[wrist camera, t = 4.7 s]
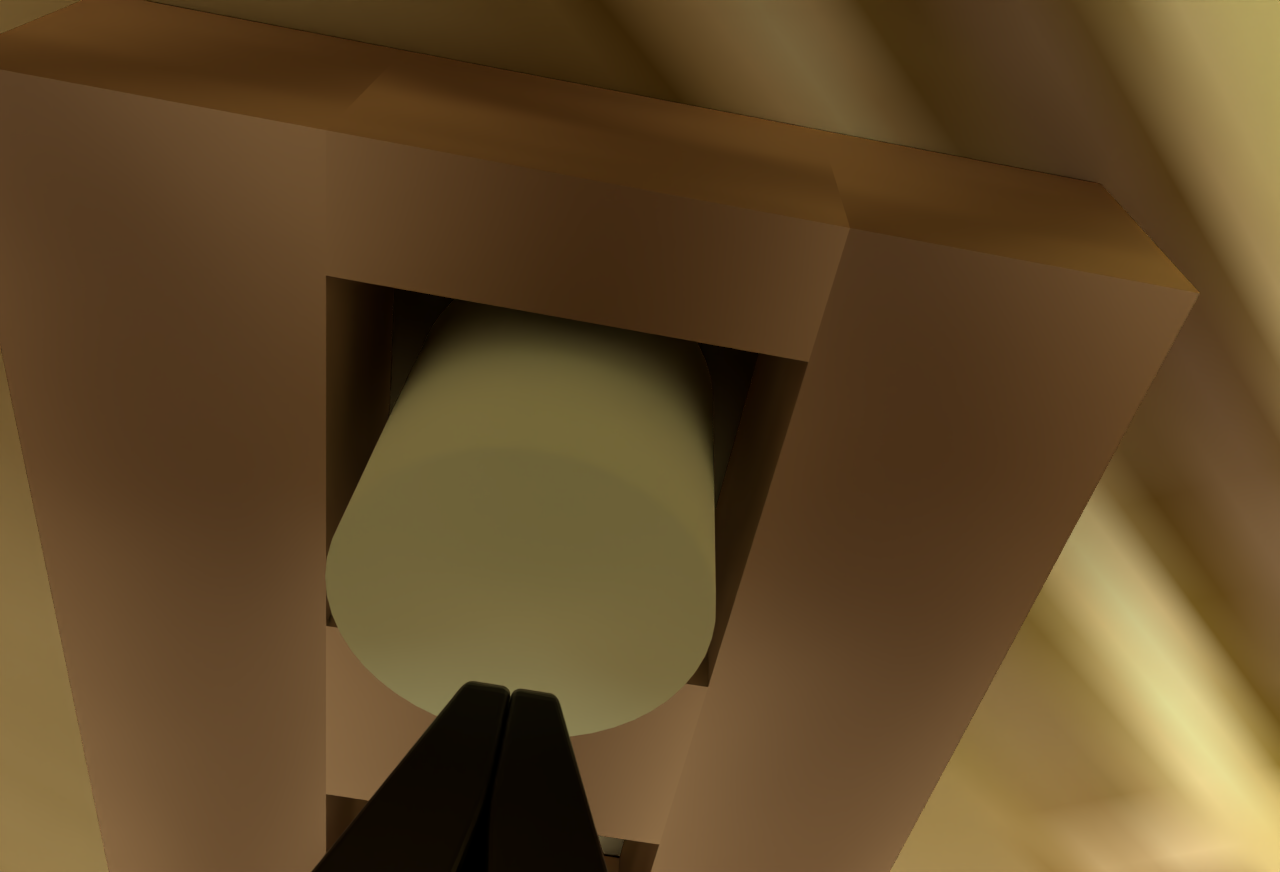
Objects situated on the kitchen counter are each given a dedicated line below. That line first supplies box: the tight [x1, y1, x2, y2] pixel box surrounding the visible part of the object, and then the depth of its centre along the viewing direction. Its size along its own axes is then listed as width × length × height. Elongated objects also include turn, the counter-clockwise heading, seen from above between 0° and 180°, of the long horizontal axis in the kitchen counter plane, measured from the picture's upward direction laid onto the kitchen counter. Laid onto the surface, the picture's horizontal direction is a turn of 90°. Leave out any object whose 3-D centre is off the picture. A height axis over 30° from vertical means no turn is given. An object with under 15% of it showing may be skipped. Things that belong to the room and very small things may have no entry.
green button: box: [325, 299, 716, 736], centre depth 12 cm, size 4×4×4 cm
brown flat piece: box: [0, 0, 1200, 872], centre depth 18 cm, size 12×25×3 cm, turn 170°
